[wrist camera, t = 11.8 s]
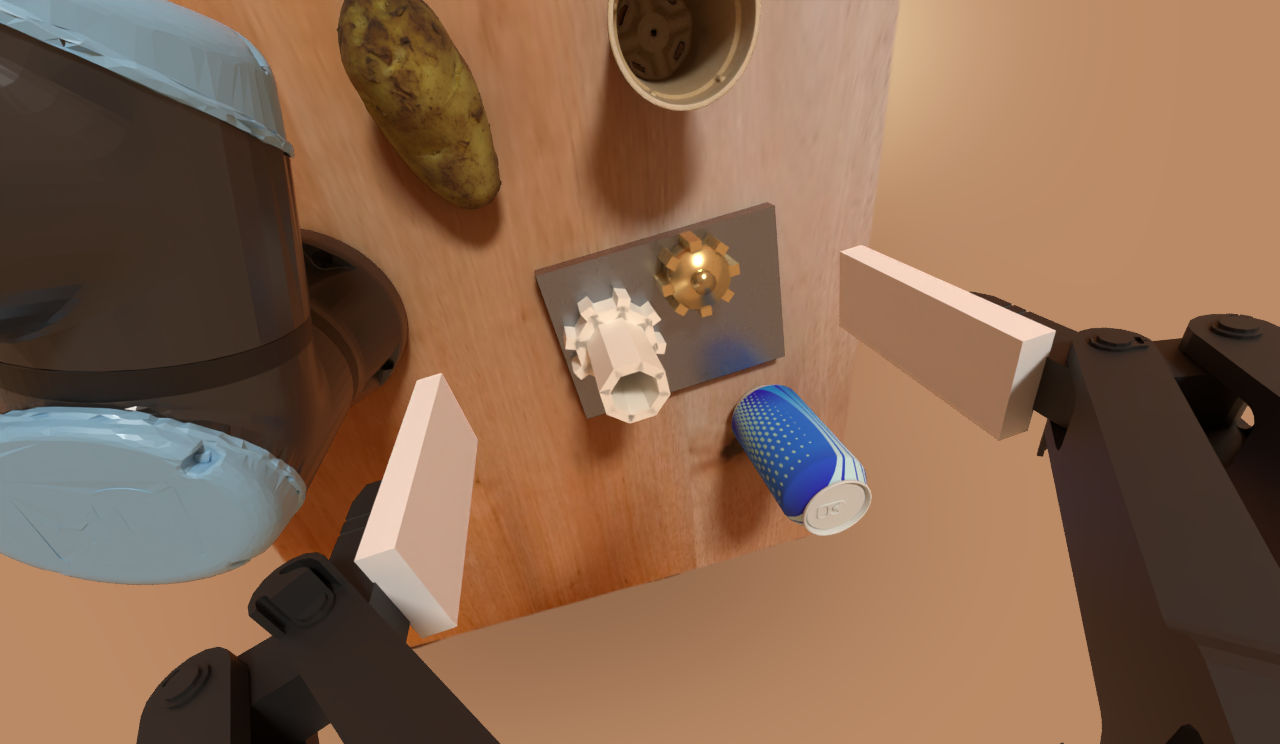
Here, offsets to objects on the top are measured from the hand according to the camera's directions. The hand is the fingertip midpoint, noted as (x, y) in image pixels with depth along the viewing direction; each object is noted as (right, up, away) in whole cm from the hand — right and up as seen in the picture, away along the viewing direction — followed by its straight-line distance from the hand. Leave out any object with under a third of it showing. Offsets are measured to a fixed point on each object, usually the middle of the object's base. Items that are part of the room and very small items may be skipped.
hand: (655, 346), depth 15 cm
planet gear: (-3, +3, +30) cm, 30 cm away
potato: (-15, +18, +20) cm, 31 cm away
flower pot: (0, +24, +20) cm, 32 cm away
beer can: (+14, -5, +41) cm, 43 cm away
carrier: (+2, +5, +32) cm, 32 cm away
